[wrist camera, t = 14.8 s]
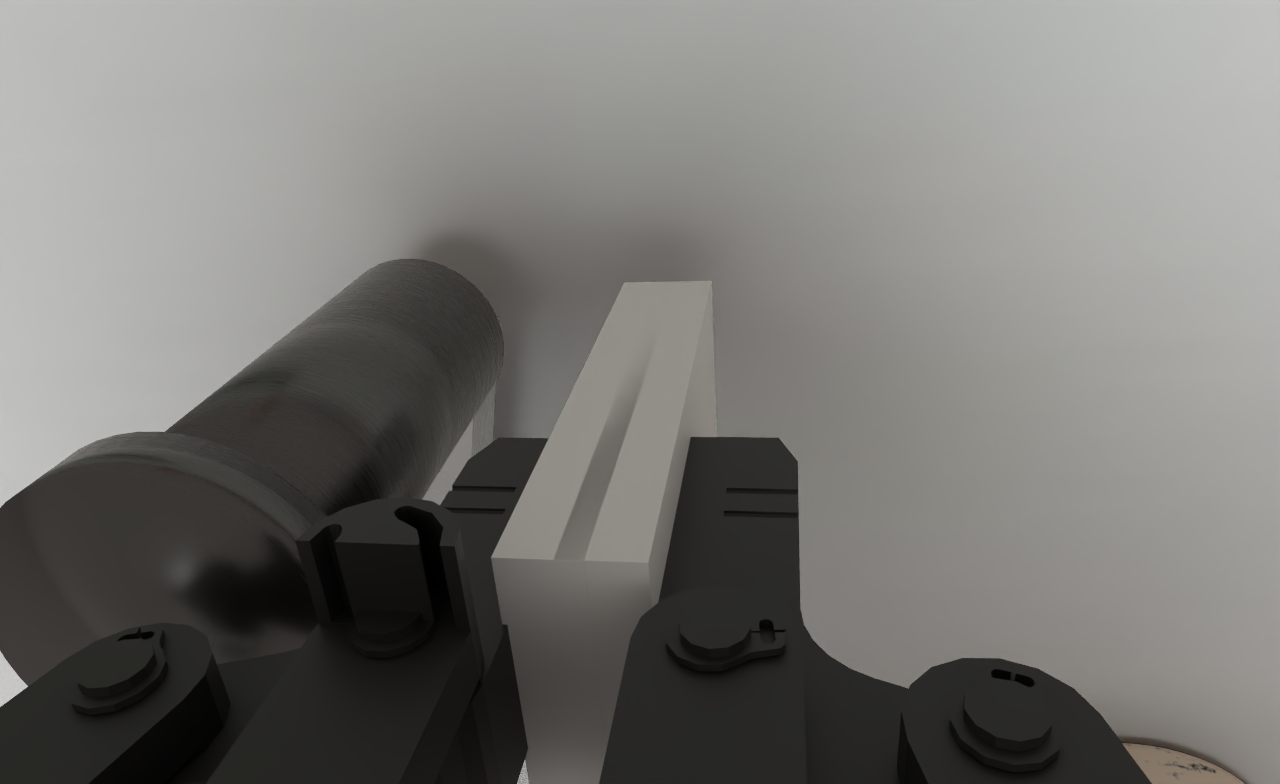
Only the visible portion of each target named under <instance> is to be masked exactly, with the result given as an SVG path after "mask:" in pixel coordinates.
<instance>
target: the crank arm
mask: <svg viewBox="0 0 1280 784" xmlns="http://www.w3.org/2000/svg"><path fill="white" fill-rule="evenodd" d="M499 322H500V317H496V315H495V312H494V311H493V309H492V307H491V306H490V304H489V302H488V301H487V300H486V298H485V297H484V296H483V294H482V293H481V292H480V291H479V290H478V289H477V288H476V287H475V286H474V285H473V284H472V283H470V282H469V281H468V280H467V279H466V278H464V277H463V276H461V275H460V274H458V273H457V272H455V271H453V270H451V269H449V268H447V267H445V266H442V265H439V264H437V263H434V262H429V261H425V260H418V259H399V260H393V261H388V262H385V263H382V264H379V265H377V266H375V267H373V268H371V269H370V270H368V271H367V272H365V273H364V274H363V275H361V276H360V277H359V278H358V279H356V280H355V281H354V282H352V283H351V284H350V285H349V286H347V287H346V288H345V289H344V290H342V291H341V292H340V293H339V294H337V295H336V296H335V297H334V298H332V299H331V300H330V301H329V302H327V303H326V304H325V305H324V306H322V307H321V308H320V309H319V310H317V311H316V312H315V313H314V314H312V315H311V316H310V317H309V318H307V319H306V320H305V321H303V322H302V323H301V324H300V325H298V326H297V327H296V328H295V329H293V330H292V331H291V332H290V333H288V334H287V335H286V336H285V337H283V338H282V339H281V340H280V341H278V342H277V343H276V344H275V345H273V346H272V347H271V348H270V349H268V350H267V351H266V352H265V353H263V354H262V355H261V356H260V357H258V358H257V359H256V360H254V361H253V362H252V363H251V364H249V365H248V366H247V367H246V368H244V369H243V370H242V371H241V372H239V373H238V374H237V375H236V376H234V377H233V378H232V379H231V380H229V381H228V382H227V383H226V384H224V385H223V386H222V387H221V388H219V389H218V390H217V391H216V392H214V393H213V394H212V395H211V396H209V397H208V398H207V399H205V400H204V401H203V402H202V403H200V404H199V405H198V406H197V407H195V408H194V409H193V410H192V411H190V412H189V413H188V414H187V415H185V416H184V417H183V418H182V419H180V420H179V421H178V422H177V423H175V424H174V425H173V426H172V427H170V428H169V429H168V430H167V431H165V432H134V433H127V434H120V435H115V436H111V437H108V438H105V439H101V440H98V441H95V442H93V443H91V444H89V445H87V446H85V447H83V448H81V449H79V450H77V451H76V452H75V453H73V454H72V455H70V456H69V457H68V458H66V459H65V460H63V461H62V462H61V463H59V464H58V465H57V466H55V467H54V468H52V469H51V470H50V471H48V472H47V473H45V474H44V475H43V476H41V477H40V478H39V479H37V480H36V481H34V482H33V483H32V484H30V485H29V486H27V487H26V488H25V489H23V490H22V491H20V492H19V493H18V494H16V495H15V496H14V497H12V498H11V499H9V500H8V501H7V502H5V504H4V505H3V506H2V507H1V508H0V651H1V652H2V654H3V655H4V657H5V659H6V660H7V661H8V663H9V664H10V665H11V667H12V668H13V669H14V670H15V672H16V673H17V674H18V676H19V677H20V678H21V679H22V680H23V681H24V682H25V683H26V684H27V685H28V686H30V685H31V684H33V683H34V682H35V681H37V680H38V679H39V678H41V677H42V676H43V675H45V674H46V673H47V672H49V671H50V670H51V669H53V668H54V667H55V666H57V665H58V664H60V663H61V662H62V661H64V660H65V659H67V658H68V657H70V656H72V655H73V654H75V653H77V652H78V651H80V650H82V649H83V648H85V647H87V646H88V645H90V644H92V643H93V642H95V641H97V640H100V639H103V638H105V637H108V636H110V635H113V634H116V633H118V632H120V631H123V630H126V629H129V628H133V627H139V626H145V625H151V624H157V623H173V624H184V625H190V626H191V627H193V628H195V629H197V630H198V631H200V632H202V633H204V634H205V635H207V638H208V641H209V644H210V646H211V649H212V652H213V655H214V658H215V660H216V663H217V664H223V663H228V662H233V661H239V660H244V659H250V658H255V657H261V656H266V655H271V654H277V653H282V652H287V651H291V650H295V649H299V648H301V647H302V646H303V644H304V643H305V641H306V640H307V638H308V637H309V636H310V634H311V633H312V631H313V630H314V628H315V627H316V626H317V624H318V620H317V616H316V613H315V609H314V605H313V602H312V598H311V595H310V591H309V588H308V584H307V581H306V577H305V574H304V570H303V567H302V563H301V560H300V556H299V553H298V549H297V545H296V542H295V540H296V539H297V538H299V537H300V536H301V535H302V534H303V533H304V532H306V531H307V530H308V529H309V528H310V527H311V526H312V525H314V524H315V523H316V522H318V521H320V520H322V519H324V518H326V517H328V516H330V515H332V514H334V513H336V512H338V511H340V510H342V509H344V508H347V507H351V506H354V505H358V504H361V503H365V502H368V501H372V500H376V499H388V498H401V497H409V498H415V499H422V500H428V501H433V502H435V503H437V504H438V505H440V504H441V503H442V501H443V500H444V498H445V496H446V495H447V493H448V492H449V491H452V485H453V483H454V482H455V480H456V479H457V477H458V475H459V474H460V472H461V471H462V469H463V467H464V466H465V464H466V462H467V461H468V460H469V459H470V458H471V457H473V456H474V455H476V454H477V453H478V452H480V451H481V450H482V449H484V448H485V447H487V446H488V445H489V444H491V443H492V442H493V427H494V409H495V392H496V381H497V378H498V376H499V374H500V371H501V367H502V364H503V356H504V343H503V336H502V331H501V328H500V324H499Z"/></svg>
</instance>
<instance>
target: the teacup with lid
mask: <svg viewBox="0 0 1280 784" xmlns="http://www.w3.org/2000/svg"><path fill="white" fill-rule="evenodd" d="M1122 744H1123V745H1124V747H1125V748H1126V749H1127V751H1128V752H1129V753H1130V755H1131V756H1132V757H1133V759H1134V760H1135V761H1136V763H1137V764H1138V765H1139V767H1140V768H1141V769H1142V771H1143V772H1144V774H1145V775H1146V776H1147V778H1148V779H1149V780H1150V782H1151V783H1152V784H1245V783H1243V782H1242V781H1241V780H1239V779H1238V778H1236V777H1235V776H1233V775H1232V774H1230V773H1229V772H1227V771H1225V770H1223V769H1221V768H1219V767H1217V766H1216V765H1213V764H1211V763H1209V762H1206V761H1204V760H1202V759H1199V758H1196V757H1193V756H1190V755H1187V754H1184V753H1181V752H1177V751H1173V750H1169V749H1165V748H1160V747H1154V746H1149V745H1140V744H1130V743H1122Z"/></svg>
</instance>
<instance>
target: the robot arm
mask: <svg viewBox="0 0 1280 784" xmlns="http://www.w3.org/2000/svg"><path fill="white" fill-rule="evenodd" d="M295 542H296V545H297V549H298V553H299V556H300V560H301V563H302V567H303V570H304V574H305V577H306V581H307V584H308V588H309V591H310V595H311V598H312V602H313V605H314V609H315V613H316V616H317V620H318V624H317V626H316V627H315V628H314V630H313V631H312V633H311V634H310V636H309V637H308V638H307V640H306V641H305V643H304V644H303V646H302V647H301V648H299V649H295V650H291V651H287V652H282V653H277V654H271V655H266V656H261V657H255V658H250V659H244V660H239V661H233V662H228V663H223V664H217V663H216V660H215V658H214V655H213V652H212V649H211V646H210V644H209V641H208V638H207V635H205V634H204V633H202V632H200V631H198V630H197V629H195V628H193V627H191V626H190V625H184V624H173V623H157V624H151V625H145V626H139V627H133V628H129V629H126V630H123V631H120V632H118V633H116V634H113V635H110V636H108V637H105V638H103V639H100V640H97V641H95V642H93V643H92V644H90V645H88V646H87V647H85V648H83V649H82V650H80V651H78V652H77V653H75V654H73V655H72V656H70V657H68V658H67V659H65V660H64V661H62V662H61V663H60V664H58V665H57V666H55V667H54V668H53V669H51V670H50V671H49V672H47V673H46V674H45V675H43V676H42V677H41V678H39V679H38V680H37V681H35V682H34V683H33V684H31V685H30V686H28V687H27V688H26V689H24V690H23V691H22V692H20V693H19V694H18V695H16V696H15V697H14V698H12V699H11V700H10V701H8V702H7V703H5V704H4V705H3V706H1V707H0V784H517V781H518V778H519V775H520V772H521V769H522V766H523V763H524V760H526V766H527V772H528V778H529V784H1152V783H1151V782H1150V780H1149V779H1148V778H1147V776H1146V775H1145V774H1144V772H1143V771H1142V769H1141V768H1140V767H1139V765H1138V764H1137V763H1136V761H1135V760H1134V759H1133V757H1132V756H1131V755H1130V753H1129V752H1128V751H1127V749H1126V748H1125V747H1124V745H1123V744H1122V743H1121V741H1120V740H1119V739H1118V737H1117V736H1116V735H1115V733H1114V732H1113V731H1112V729H1111V728H1110V727H1109V725H1108V724H1107V723H1106V721H1105V720H1104V719H1103V717H1102V716H1101V714H1099V713H1098V712H1097V711H1096V710H1095V709H1094V708H1093V707H1092V706H1091V705H1090V704H1089V703H1088V702H1087V701H1086V700H1085V699H1084V698H1083V697H1082V696H1081V695H1080V694H1079V693H1078V692H1077V691H1076V690H1075V689H1074V688H1072V687H1070V686H1068V685H1067V684H1065V683H1063V682H1061V681H1059V680H1057V679H1056V678H1054V677H1052V676H1050V675H1048V674H1046V673H1045V672H1043V671H1041V670H1039V669H1037V668H1033V667H1029V666H1025V665H1022V664H1018V663H1014V662H1010V661H1007V660H1003V659H991V658H961V659H958V660H955V661H951V662H948V663H944V664H941V665H938V666H934V667H931V668H930V669H929V670H928V671H927V672H925V673H924V674H923V675H922V676H921V677H919V678H918V679H917V680H916V681H915V682H913V683H912V684H911V685H910V687H909V689H908V688H905V687H901V686H898V685H894V684H891V683H888V682H884V681H881V680H878V679H875V678H872V677H869V676H867V675H864V674H862V673H859V672H857V671H854V670H852V669H849V668H848V667H846V666H845V665H843V664H841V663H840V662H838V661H837V660H835V659H833V658H832V657H830V656H829V655H828V654H827V653H826V652H825V651H824V650H822V649H821V648H820V647H819V646H818V645H817V644H816V643H815V642H814V641H813V639H812V638H811V636H810V634H809V633H808V631H807V629H806V627H805V626H804V624H803V619H802V614H801V610H800V569H799V518H798V461H797V460H796V459H795V458H794V457H793V455H792V454H791V453H790V452H789V450H788V449H787V448H786V447H785V445H784V444H783V443H782V442H781V440H780V439H779V438H747V437H717V417H716V389H715V360H714V332H713V303H712V281H670V282H624V284H623V286H622V288H621V290H620V292H619V294H618V296H617V298H616V301H615V303H614V305H613V307H612V309H611V311H610V313H609V315H608V317H607V319H606V321H605V323H604V325H603V327H602V329H601V331H600V334H599V336H598V338H597V340H596V342H595V344H594V346H593V348H592V350H591V352H590V354H589V356H588V358H587V360H586V362H585V365H584V367H583V369H582V371H581V373H580V375H579V377H578V379H577V381H576V383H575V385H574V387H573V389H572V391H571V393H570V395H569V398H568V400H567V402H566V404H565V406H564V408H563V410H562V412H561V414H560V416H559V418H558V420H557V422H556V424H555V426H554V428H553V431H552V433H551V435H550V437H549V439H547V438H498V439H496V440H495V441H494V442H492V443H491V444H489V445H488V446H487V447H485V448H484V449H482V450H481V451H480V452H478V453H477V454H476V455H474V456H473V457H471V458H470V459H469V460H468V461H467V462H466V464H465V466H464V467H463V469H462V471H461V472H460V474H459V475H458V477H457V479H456V480H455V482H454V483H453V485H452V491H449V492H448V493H447V495H446V496H445V498H444V500H443V501H442V503H441V504H440V505H438V504H437V503H435V502H433V501H428V500H422V499H415V498H409V497H401V498H388V499H376V500H372V501H368V502H365V503H361V504H358V505H354V506H351V507H347V508H344V509H342V510H340V511H338V512H336V513H334V514H332V515H330V516H328V517H326V518H324V519H322V520H320V521H318V522H316V523H315V524H314V525H312V526H311V527H310V528H309V529H308V530H307V531H306V532H304V533H303V534H302V535H301V536H300V537H299V538H297V539H296V540H295Z"/></svg>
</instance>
